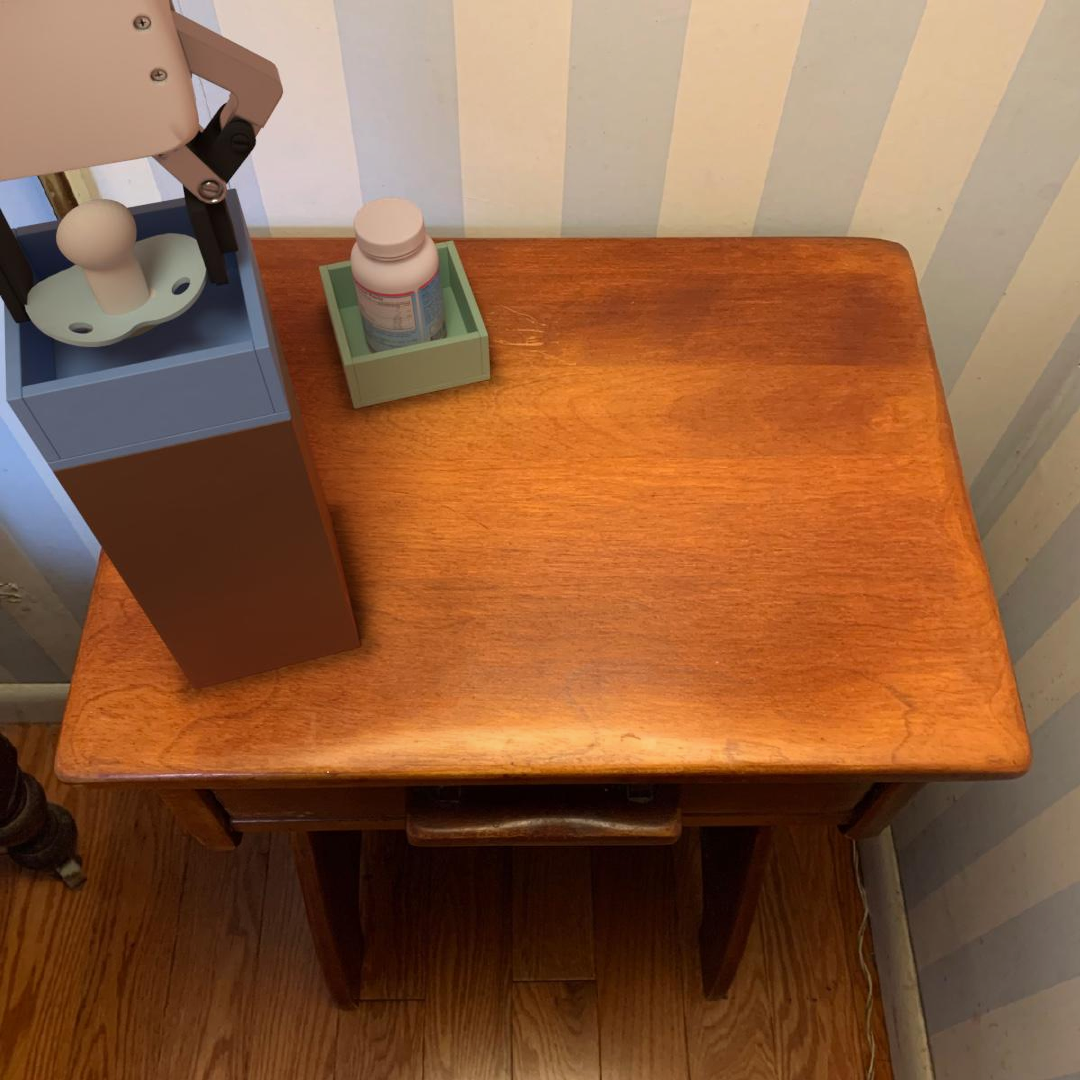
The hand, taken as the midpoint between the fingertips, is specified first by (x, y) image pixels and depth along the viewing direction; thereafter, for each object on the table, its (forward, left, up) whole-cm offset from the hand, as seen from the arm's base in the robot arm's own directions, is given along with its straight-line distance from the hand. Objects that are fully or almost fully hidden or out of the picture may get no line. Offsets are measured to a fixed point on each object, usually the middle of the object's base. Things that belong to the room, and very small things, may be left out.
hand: (121, 278), depth 43 cm
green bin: (+14, +19, -27) cm, 36 cm away
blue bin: (0, 0, -27) cm, 27 cm away
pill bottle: (+14, +19, -27) cm, 35 cm away
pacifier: (0, 0, -2) cm, 2 cm away
